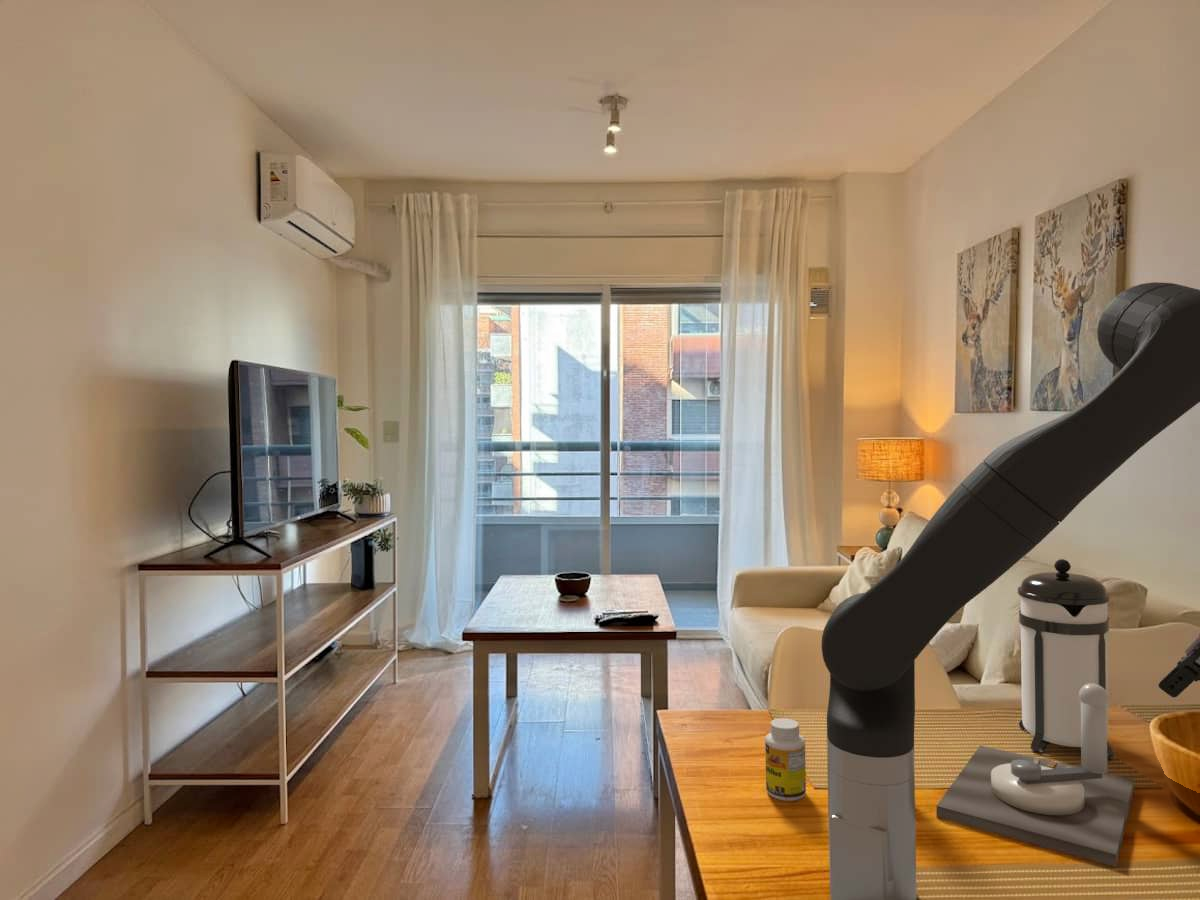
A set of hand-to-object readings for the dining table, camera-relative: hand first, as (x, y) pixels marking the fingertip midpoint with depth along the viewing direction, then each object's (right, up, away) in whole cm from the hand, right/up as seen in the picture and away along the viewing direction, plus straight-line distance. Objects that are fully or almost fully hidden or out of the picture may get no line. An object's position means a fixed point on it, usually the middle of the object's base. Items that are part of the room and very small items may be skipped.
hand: (1167, 690), depth 97 cm
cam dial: (-10, -17, +8) cm, 21 cm away
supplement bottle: (-45, -19, +13) cm, 50 cm away
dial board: (-11, -18, +9) cm, 23 cm away
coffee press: (+4, -18, +29) cm, 34 cm away
